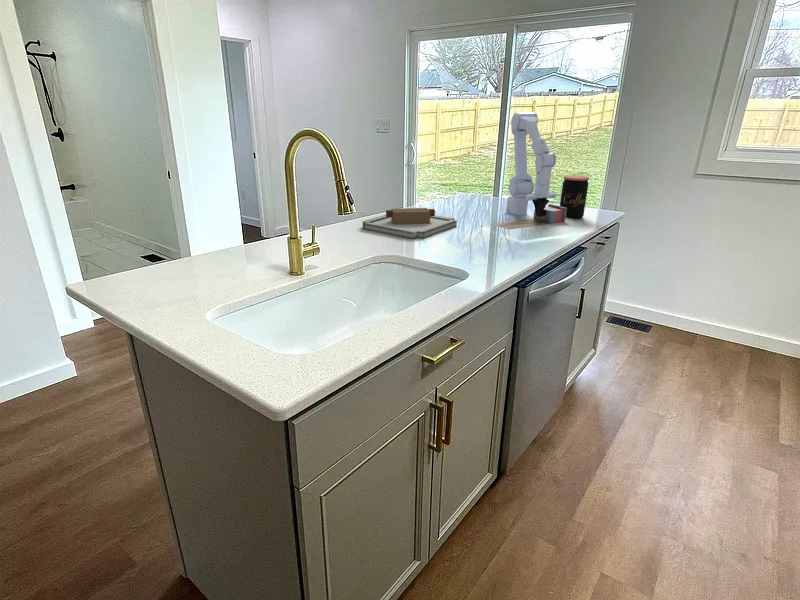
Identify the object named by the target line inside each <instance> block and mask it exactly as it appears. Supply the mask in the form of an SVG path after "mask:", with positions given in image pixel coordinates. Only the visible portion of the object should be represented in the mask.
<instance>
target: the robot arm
mask: <svg viewBox="0 0 800 600" xmlns="http://www.w3.org/2000/svg"><path fill="white" fill-rule="evenodd" d="M538 123H539V115H538V113H537V112H517V111H516V112H514V113H513V115H512V117H511V121H510V124H511V134H512V135H513V144H514V147H513V148H514V149H513V150H514V170H515V172H514V173H515V174H514V175H512V176H511V177H510V178H509V185H508V192H509V194H510V195H509V196H508V197H507V201H506V207H505V209H506V210H505V214H511V215H514V216H526V215H527V214H528V207H529V201H531V202H532V204H533V206H534V210H535V211H536V216H538V217H541V216H542V213H543V211H544V208H545V207H547V205H548V204H549V203H550V202H549V201H550V199H556V197H557V193H556V192H550V185H551V177H552V168H554V167H555V165H556V163H557V158H556V154H555V153H554V152H552V150H551V151H550V148H549V146H548V144H547V142H546V139H544V138H542V136H541V134H540V130H539V127H538ZM527 136H529V137H530V139H531V142H532V143H531V149H532V152H533V153H534V156H535V159H534V166H535V172H536V175H535V184H534V182H533V177H532V176H531V175H530V174H529V173H528V161H527V160H528V159H527V156H528V155H527Z"/></svg>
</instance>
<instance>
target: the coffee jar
mask: <svg viewBox="0 0 800 600" xmlns="http://www.w3.org/2000/svg"><path fill="white" fill-rule="evenodd" d="M589 181H590V177H589V176H585V175H581V174H580V175H578V174H573V175H572V174H569V175H568V174H567V175H563V182H562V184H561V185H562V186H561V193H560V202H559V206H561V207H565V208H567V212H566V218H567V219H571V220H574V221H577V220H578V221H579V220H581V219H582V218H584V214H585V209H586V201H587V196H588V190H589Z"/></svg>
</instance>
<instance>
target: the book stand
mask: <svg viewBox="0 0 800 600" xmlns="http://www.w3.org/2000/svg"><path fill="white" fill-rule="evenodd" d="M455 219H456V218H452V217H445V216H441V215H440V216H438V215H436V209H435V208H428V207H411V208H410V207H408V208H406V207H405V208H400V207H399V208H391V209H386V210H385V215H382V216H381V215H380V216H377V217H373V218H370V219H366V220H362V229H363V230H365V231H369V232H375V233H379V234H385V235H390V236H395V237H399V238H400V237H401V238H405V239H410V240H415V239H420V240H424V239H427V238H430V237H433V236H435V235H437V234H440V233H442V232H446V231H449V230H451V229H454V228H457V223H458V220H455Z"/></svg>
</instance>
